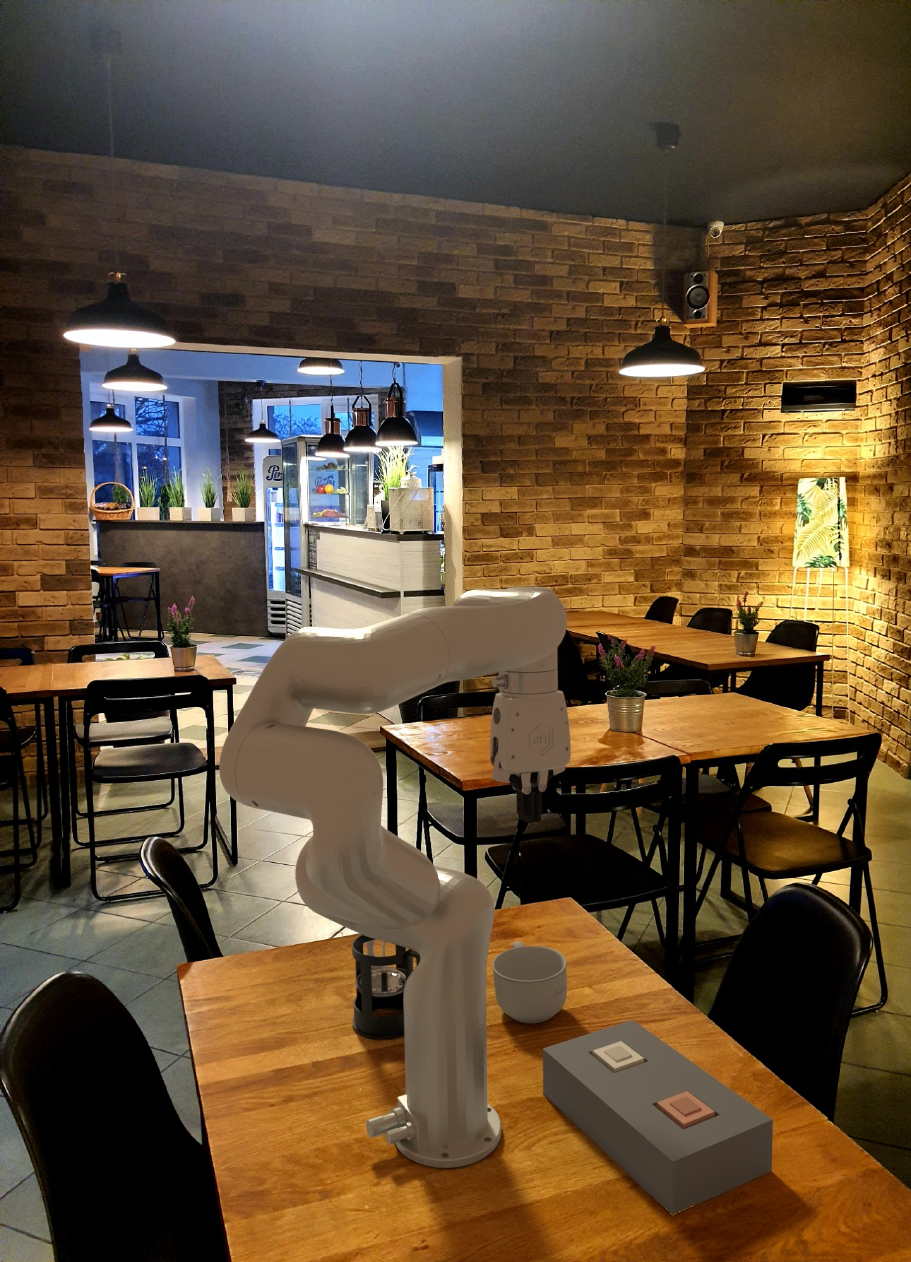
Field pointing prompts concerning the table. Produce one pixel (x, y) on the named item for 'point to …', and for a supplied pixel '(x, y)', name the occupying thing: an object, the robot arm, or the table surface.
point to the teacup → (530, 982)
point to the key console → (658, 1117)
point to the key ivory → (618, 1057)
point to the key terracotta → (685, 1110)
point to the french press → (380, 990)
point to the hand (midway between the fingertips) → (529, 819)
